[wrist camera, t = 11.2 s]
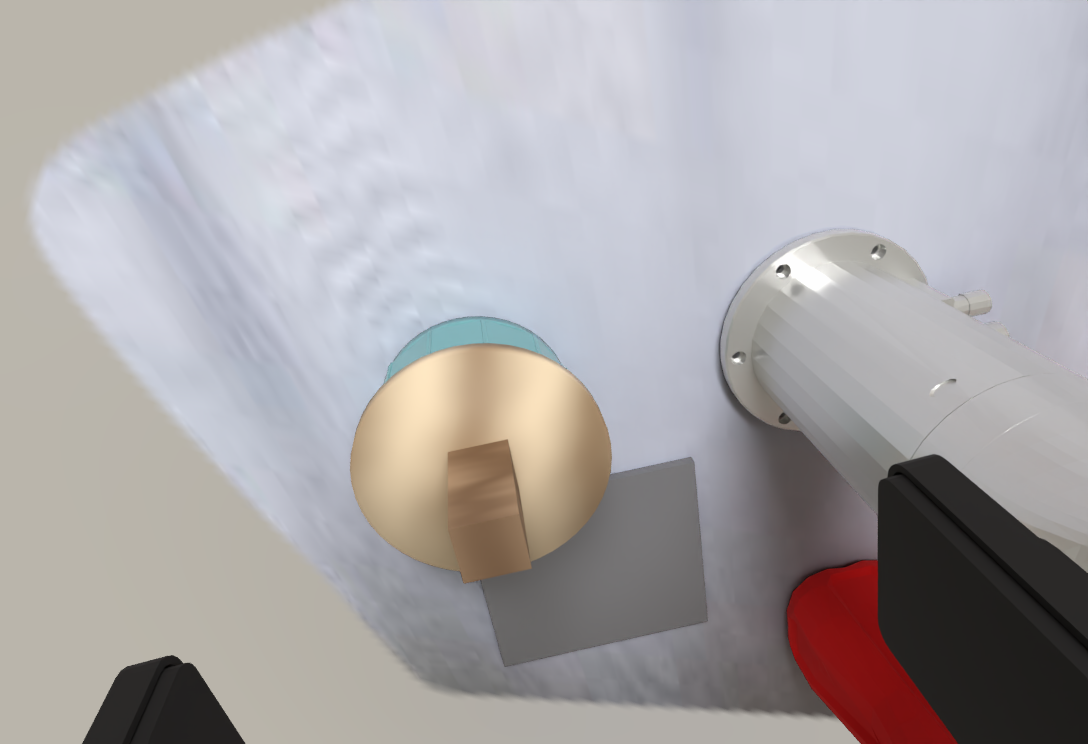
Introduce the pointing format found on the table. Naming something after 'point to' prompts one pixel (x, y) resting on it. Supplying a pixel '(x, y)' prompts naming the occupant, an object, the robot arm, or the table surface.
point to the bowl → (468, 339)
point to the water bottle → (857, 659)
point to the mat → (610, 572)
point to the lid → (480, 459)
